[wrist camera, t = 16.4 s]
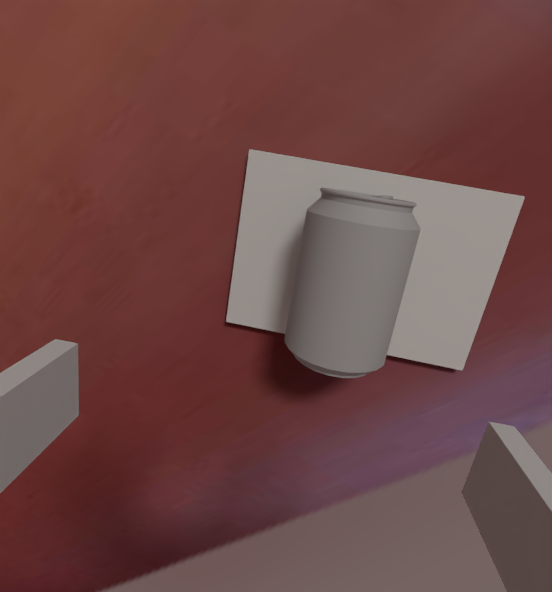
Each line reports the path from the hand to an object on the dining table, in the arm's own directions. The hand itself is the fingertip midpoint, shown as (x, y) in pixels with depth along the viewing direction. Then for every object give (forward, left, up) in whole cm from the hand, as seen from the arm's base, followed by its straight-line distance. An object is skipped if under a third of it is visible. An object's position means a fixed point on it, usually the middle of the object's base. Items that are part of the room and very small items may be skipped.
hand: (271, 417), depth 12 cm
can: (+6, -2, -16) cm, 17 cm away
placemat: (+2, +4, -20) cm, 21 cm away
